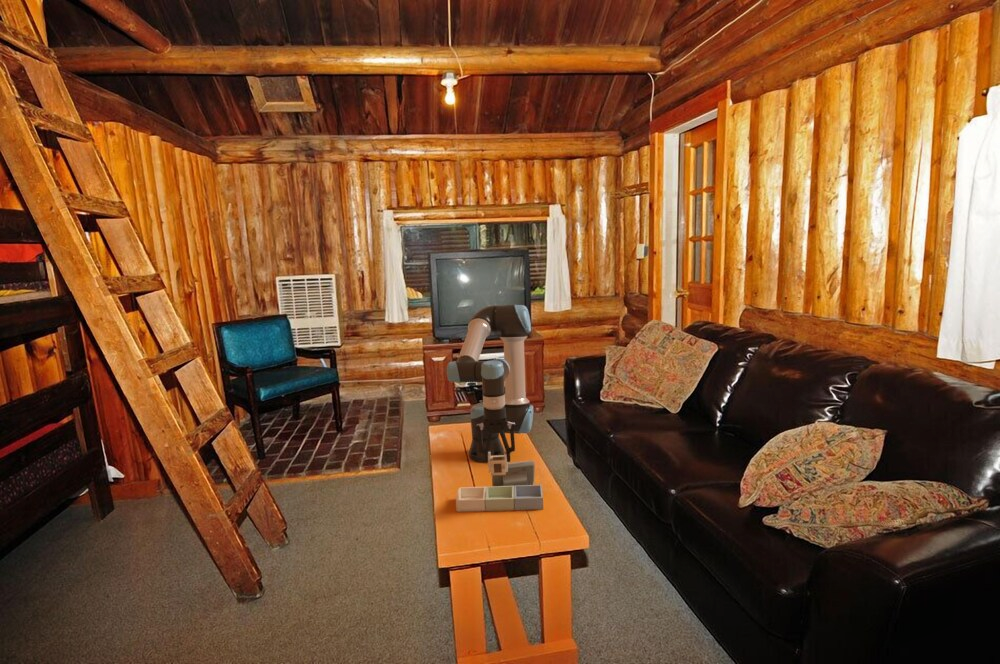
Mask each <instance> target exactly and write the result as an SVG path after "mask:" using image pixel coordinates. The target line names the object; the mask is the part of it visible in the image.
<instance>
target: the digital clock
mask: <svg viewBox="0 0 1000 664" xmlns="http://www.w3.org/2000/svg"><path fill="white" fill-rule="evenodd" d="M507 465H508V472H506V474H505V475H491V482H492V483H491V484H492V485H491V486H517V485H534V483H535V474H536V473H535V472H536V471H535V470H536V462H535V461H534V460H523V461H514V462H513V461H512V462H507Z"/></svg>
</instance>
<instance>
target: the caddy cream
mask: <svg viewBox="0 0 1000 664" xmlns="http://www.w3.org/2000/svg"><path fill="white" fill-rule="evenodd" d="M486 488H487V486H466V487H465V486H464V487H458V491H457V495H456V498H455V507H456V513H470V512H471V513H472V512H486V508H485V496H486Z"/></svg>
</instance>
